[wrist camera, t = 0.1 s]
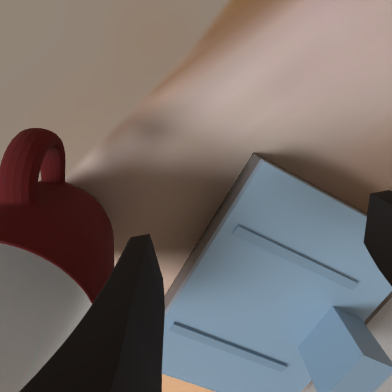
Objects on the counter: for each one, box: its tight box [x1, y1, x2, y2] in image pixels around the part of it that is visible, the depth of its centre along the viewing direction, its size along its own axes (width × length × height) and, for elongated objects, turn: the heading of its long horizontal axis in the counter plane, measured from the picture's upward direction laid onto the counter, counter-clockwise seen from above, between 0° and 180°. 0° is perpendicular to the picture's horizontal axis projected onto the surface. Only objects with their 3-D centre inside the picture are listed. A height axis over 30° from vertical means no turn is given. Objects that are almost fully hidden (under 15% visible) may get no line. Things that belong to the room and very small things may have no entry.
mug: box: [0, 128, 114, 392], centre depth 17 cm, size 11×8×10 cm
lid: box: [162, 159, 392, 392], centre depth 21 cm, size 16×12×5 cm
